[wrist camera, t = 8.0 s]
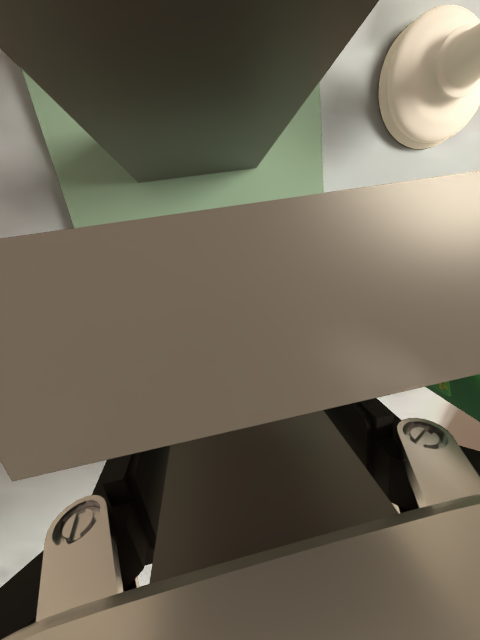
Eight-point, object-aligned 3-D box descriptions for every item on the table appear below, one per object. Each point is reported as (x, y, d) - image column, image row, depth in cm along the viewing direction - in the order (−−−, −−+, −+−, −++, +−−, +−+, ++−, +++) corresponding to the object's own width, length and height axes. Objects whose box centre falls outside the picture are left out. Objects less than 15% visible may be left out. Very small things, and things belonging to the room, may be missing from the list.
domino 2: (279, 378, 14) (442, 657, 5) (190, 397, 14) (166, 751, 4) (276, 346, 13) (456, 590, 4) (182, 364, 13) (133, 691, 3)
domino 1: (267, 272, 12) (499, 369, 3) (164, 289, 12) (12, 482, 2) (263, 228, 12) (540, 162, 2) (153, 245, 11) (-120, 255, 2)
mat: (328, 431, 16) (333, 437, 16) (159, 471, 15) (157, 480, 15) (290, -408, 7) (298, -464, 7) (-140, -452, 6) (-175, -522, 6)
